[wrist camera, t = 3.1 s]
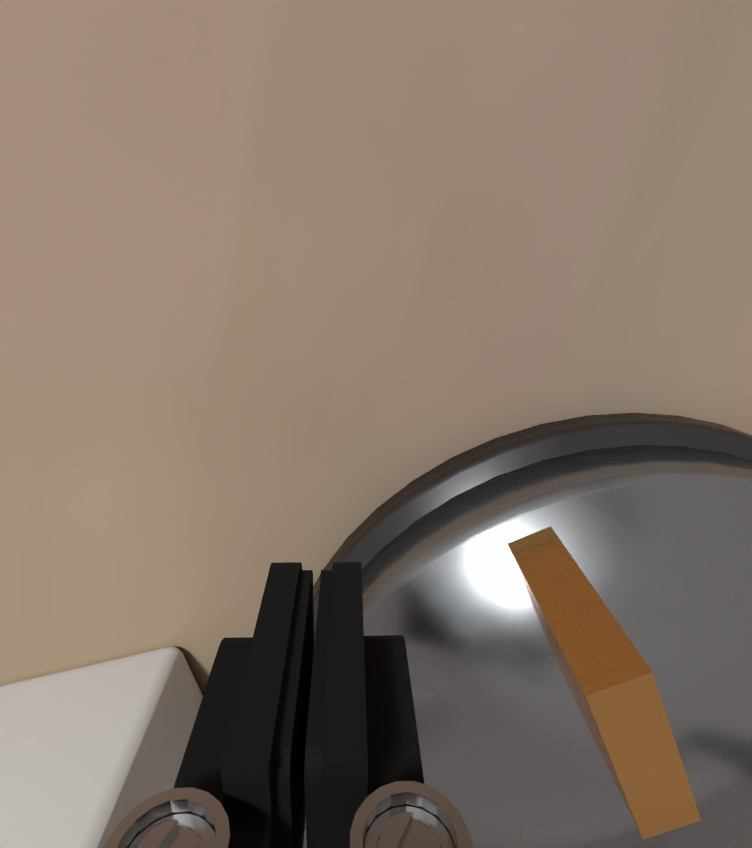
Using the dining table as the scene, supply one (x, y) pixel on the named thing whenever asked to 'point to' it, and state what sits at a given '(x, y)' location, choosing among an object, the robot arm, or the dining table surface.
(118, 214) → the dining table surface
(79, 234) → the dining table surface
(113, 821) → the medicine bottle
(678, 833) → the disc
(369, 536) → the base
